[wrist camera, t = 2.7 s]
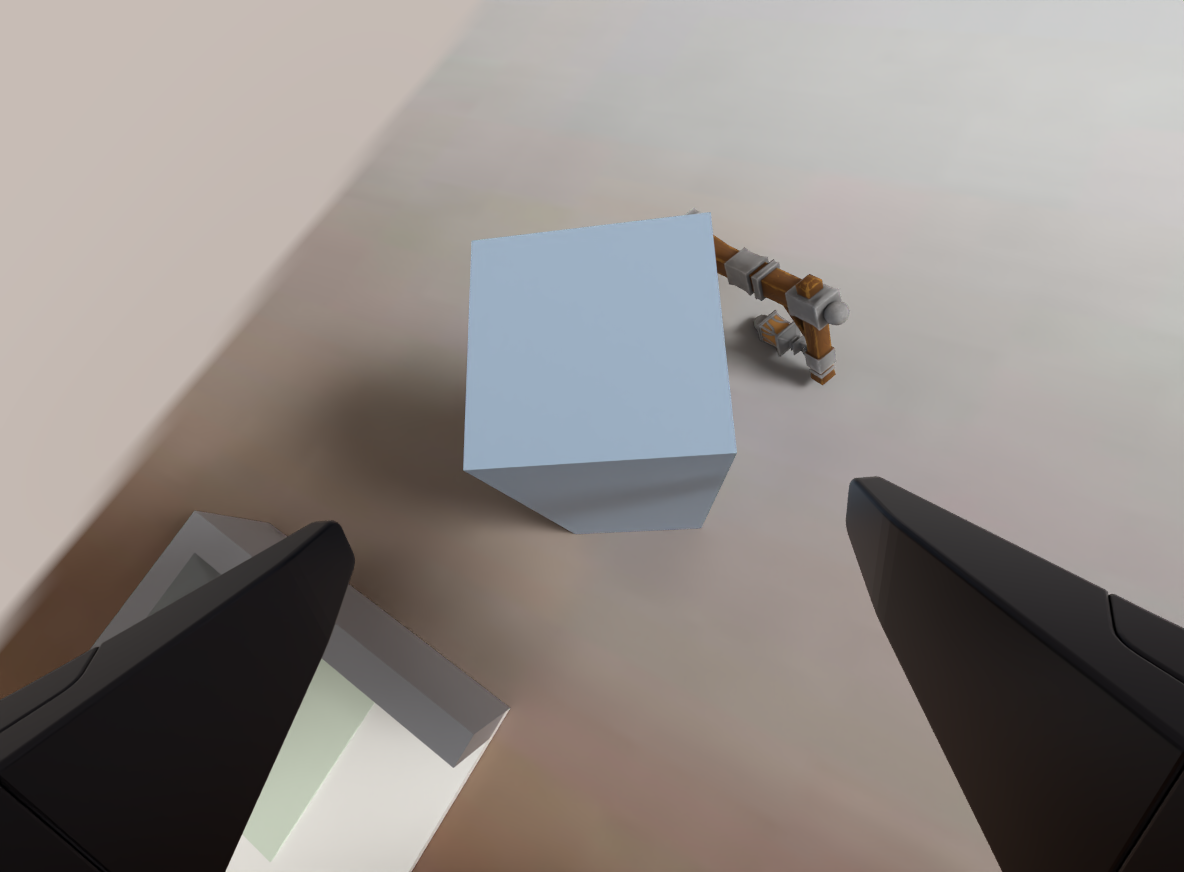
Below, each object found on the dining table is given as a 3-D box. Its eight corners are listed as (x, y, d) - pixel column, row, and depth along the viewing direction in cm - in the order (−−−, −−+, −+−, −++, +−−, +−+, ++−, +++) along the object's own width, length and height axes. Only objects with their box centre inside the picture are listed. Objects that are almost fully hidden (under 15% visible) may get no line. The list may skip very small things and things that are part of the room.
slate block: (700, 528, 19) (737, 452, 8) (575, 533, 20) (463, 470, 9) (690, 403, 20) (709, 205, 10) (572, 412, 21) (472, 233, 10)
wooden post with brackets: (829, 409, 19) (821, 316, 15) (686, 314, 24) (657, 230, 21) (868, 376, 19) (869, 277, 15) (717, 290, 24) (693, 202, 21)
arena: (510, 707, 18) (474, 734, 15) (311, 1036, 16) (220, 1150, 13) (269, 522, 21) (194, 510, 18) (81, 782, 20) (-41, 822, 16)
